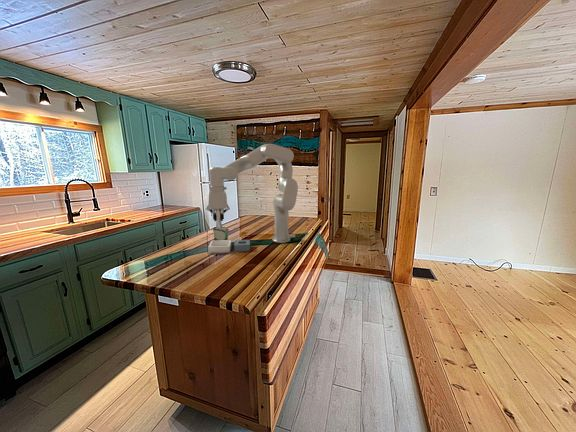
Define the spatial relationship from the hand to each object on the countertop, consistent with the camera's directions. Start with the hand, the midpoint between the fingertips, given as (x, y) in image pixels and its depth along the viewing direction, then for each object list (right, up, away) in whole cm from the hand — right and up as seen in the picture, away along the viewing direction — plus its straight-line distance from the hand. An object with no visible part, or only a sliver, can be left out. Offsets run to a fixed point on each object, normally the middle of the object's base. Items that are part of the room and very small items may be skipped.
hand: (218, 220), depth 136 cm
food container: (-2, -15, +17) cm, 23 cm away
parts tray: (0, -18, +4) cm, 18 cm away
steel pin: (0, -5, +1) cm, 5 cm away
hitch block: (+13, -18, +6) cm, 22 cm away
